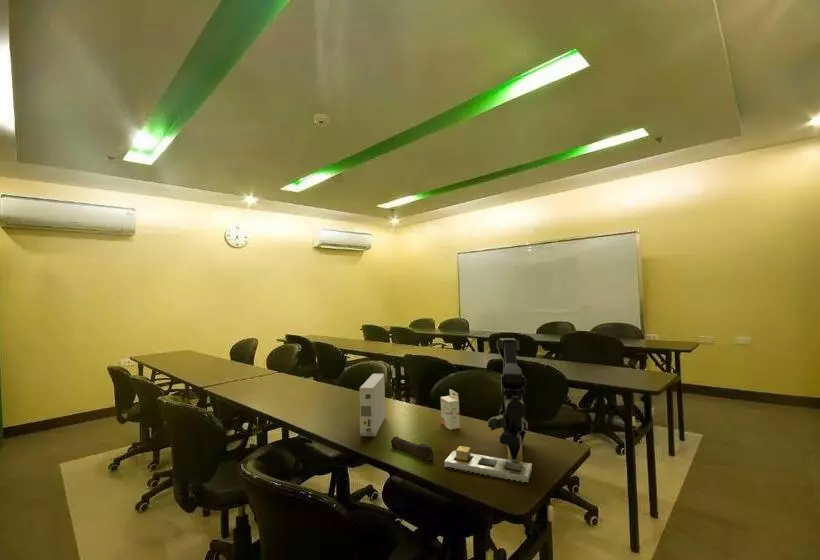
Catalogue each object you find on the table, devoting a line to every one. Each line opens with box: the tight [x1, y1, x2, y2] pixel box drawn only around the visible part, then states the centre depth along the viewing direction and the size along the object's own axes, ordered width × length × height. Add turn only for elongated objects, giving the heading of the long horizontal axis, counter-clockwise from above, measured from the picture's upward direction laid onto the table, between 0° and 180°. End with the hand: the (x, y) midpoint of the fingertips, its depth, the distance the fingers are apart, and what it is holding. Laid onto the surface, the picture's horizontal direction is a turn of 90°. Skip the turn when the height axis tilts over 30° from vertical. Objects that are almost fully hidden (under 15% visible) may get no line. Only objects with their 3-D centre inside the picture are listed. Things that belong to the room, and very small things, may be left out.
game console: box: [359, 373, 386, 437], centre depth 159 cm, size 6×27×20 cm, turn 174°
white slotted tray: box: [444, 445, 533, 483], centre depth 118 cm, size 9×26×5 cm, turn 65°
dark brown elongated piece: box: [390, 436, 434, 462], centre depth 131 cm, size 19×4×5 cm, turn 44°
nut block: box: [507, 442, 523, 462], centre depth 124 cm, size 4×4×6 cm
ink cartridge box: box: [440, 388, 461, 431], centre depth 158 cm, size 9×5×15 cm, turn 22°
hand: (515, 456), depth 124 cm, fingers open, 4 cm apart
